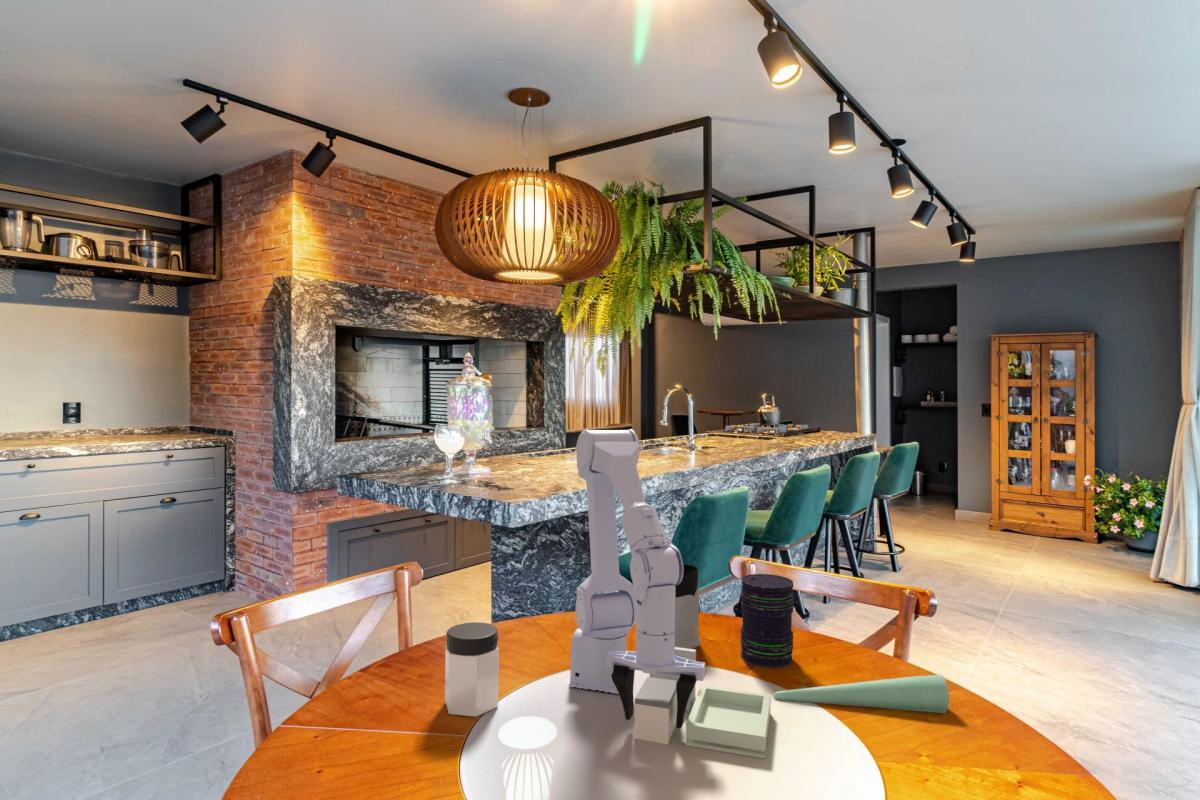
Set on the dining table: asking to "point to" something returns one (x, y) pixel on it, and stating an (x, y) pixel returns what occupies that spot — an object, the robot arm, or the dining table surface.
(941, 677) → the long green cone
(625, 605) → the robot arm
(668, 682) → the tall grey beige-topped block
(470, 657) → the jar
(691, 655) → the dock
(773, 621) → the storage jar
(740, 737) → the tray
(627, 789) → the dining table surface
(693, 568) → the glass holder
